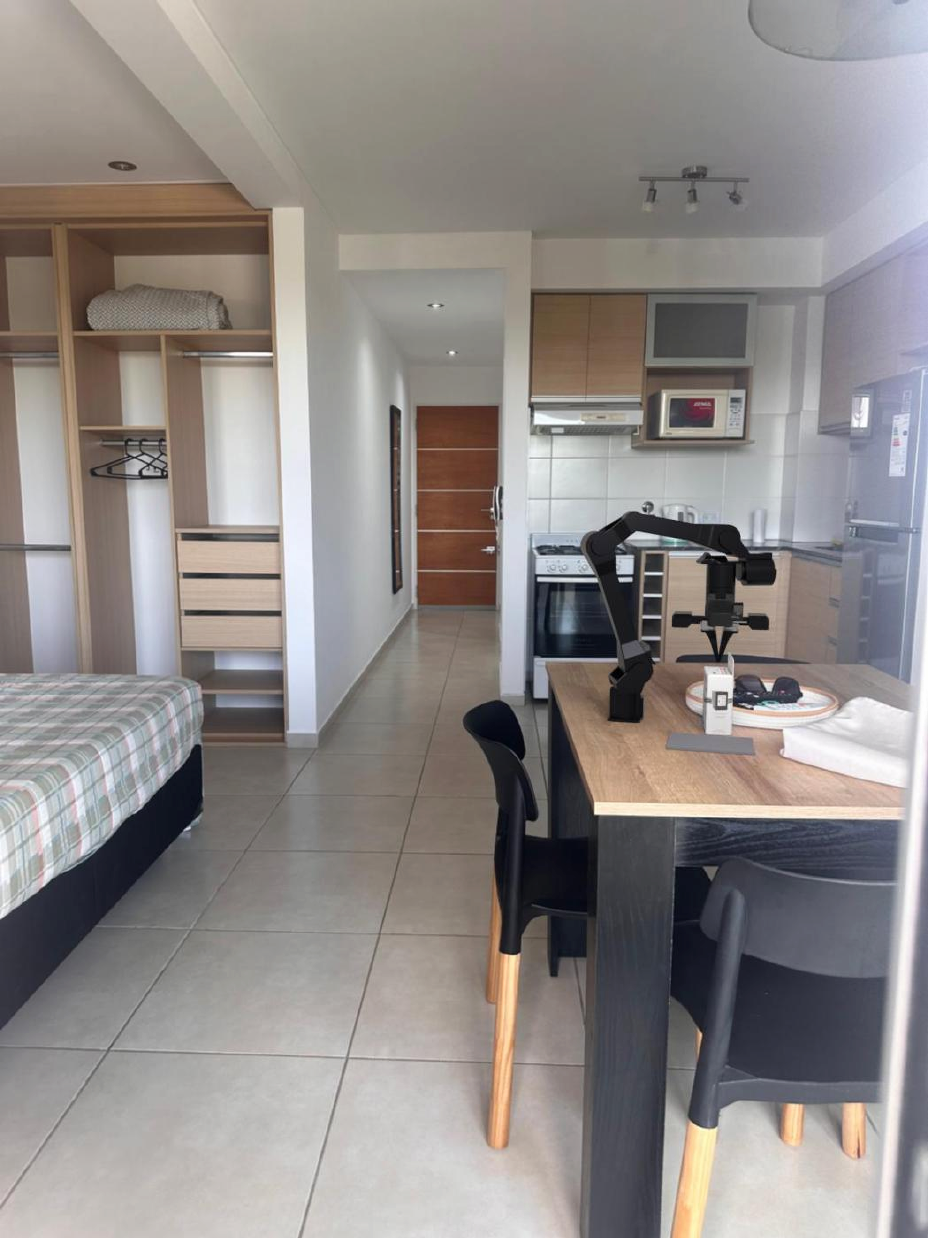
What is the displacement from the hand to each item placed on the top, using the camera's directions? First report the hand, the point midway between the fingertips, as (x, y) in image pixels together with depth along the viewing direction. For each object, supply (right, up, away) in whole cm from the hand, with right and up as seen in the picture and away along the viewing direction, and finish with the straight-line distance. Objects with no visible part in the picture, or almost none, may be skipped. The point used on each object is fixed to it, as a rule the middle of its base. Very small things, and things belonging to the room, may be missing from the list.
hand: (718, 662), depth 170 cm
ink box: (-3, -13, -8) cm, 15 cm away
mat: (-7, -14, -18) cm, 24 cm away
